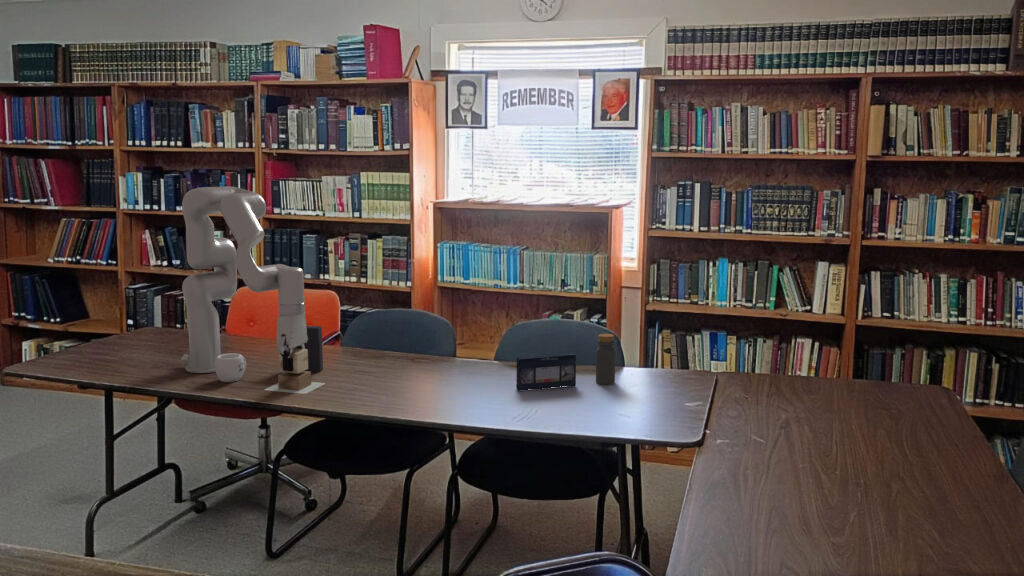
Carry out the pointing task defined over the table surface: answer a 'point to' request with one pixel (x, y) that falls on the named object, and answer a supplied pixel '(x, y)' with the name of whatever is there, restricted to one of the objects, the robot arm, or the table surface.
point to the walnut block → (294, 380)
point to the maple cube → (297, 360)
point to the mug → (230, 367)
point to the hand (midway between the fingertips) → (294, 367)
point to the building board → (302, 391)
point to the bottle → (605, 360)
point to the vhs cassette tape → (546, 371)
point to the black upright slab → (314, 348)
